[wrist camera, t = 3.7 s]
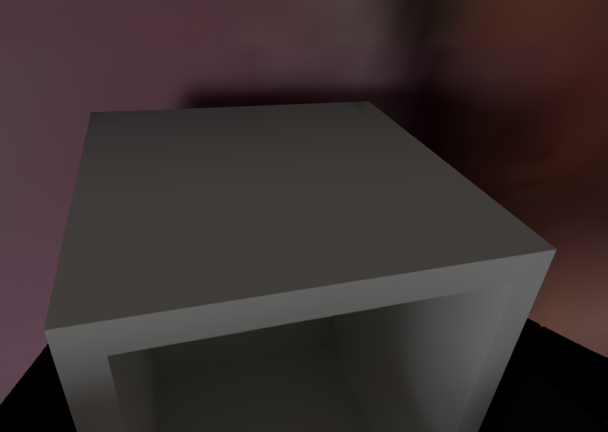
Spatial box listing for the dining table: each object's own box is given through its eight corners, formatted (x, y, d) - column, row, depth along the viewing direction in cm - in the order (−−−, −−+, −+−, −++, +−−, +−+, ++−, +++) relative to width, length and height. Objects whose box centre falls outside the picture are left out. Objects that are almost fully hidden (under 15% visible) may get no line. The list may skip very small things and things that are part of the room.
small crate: (335, 337, 12) (432, 538, 8) (140, 375, 11) (144, 637, 7) (368, 101, 9) (557, 249, 5) (90, 112, 8) (43, 330, 4)
